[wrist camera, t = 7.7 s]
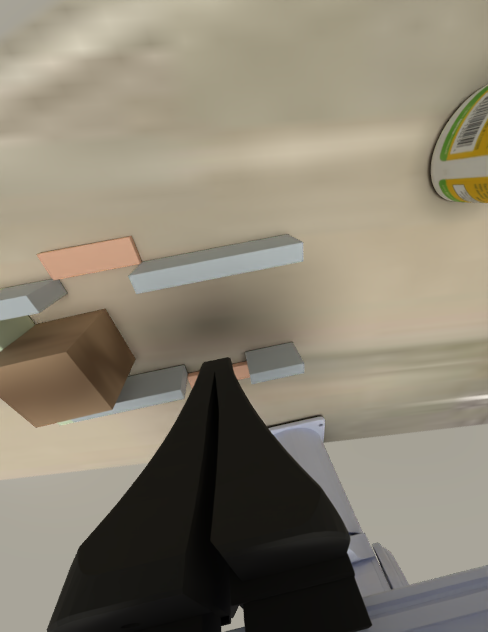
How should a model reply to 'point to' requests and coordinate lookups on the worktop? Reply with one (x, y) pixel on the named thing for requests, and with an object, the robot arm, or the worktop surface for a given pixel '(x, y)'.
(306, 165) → the worktop surface
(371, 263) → the worktop surface
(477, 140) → the supplement bottle
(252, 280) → the worktop surface
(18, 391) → the walnut block
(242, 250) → the channel
